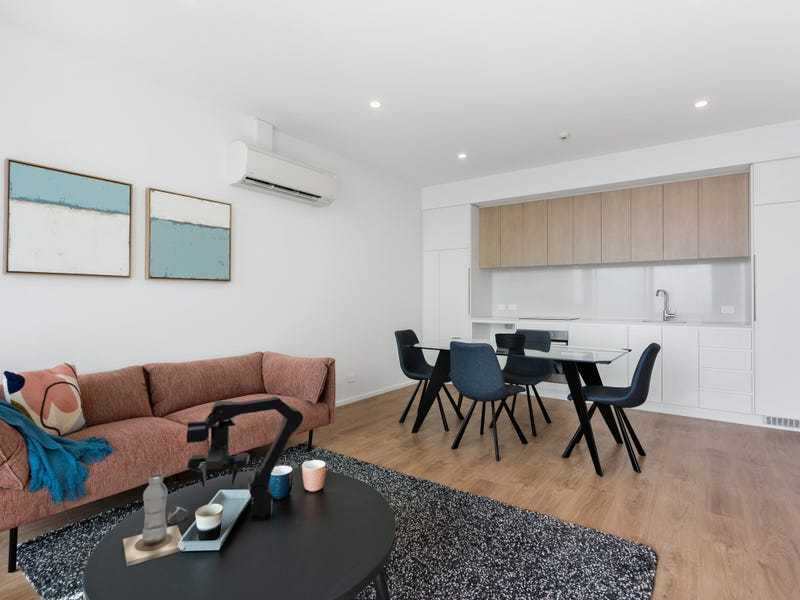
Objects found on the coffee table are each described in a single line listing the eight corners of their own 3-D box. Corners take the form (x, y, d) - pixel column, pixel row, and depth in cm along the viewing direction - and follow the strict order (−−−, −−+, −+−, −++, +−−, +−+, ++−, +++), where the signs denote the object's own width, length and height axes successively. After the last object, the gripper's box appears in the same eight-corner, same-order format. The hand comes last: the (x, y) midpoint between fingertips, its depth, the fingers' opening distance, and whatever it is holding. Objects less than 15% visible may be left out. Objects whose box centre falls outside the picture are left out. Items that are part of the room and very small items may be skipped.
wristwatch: (166, 523, 144) (166, 508, 144) (184, 517, 148) (185, 502, 149) (169, 527, 141) (170, 511, 142) (189, 520, 146) (189, 505, 146)
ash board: (176, 528, 140) (176, 524, 140) (185, 549, 128) (185, 544, 128) (123, 542, 131) (123, 538, 131) (126, 566, 119) (126, 561, 119)
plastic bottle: (170, 540, 131) (172, 475, 131) (146, 549, 125) (148, 481, 126) (161, 533, 135) (163, 470, 135) (138, 542, 129) (140, 476, 130)
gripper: (182, 448, 135) (181, 497, 134) (243, 445, 138) (242, 494, 137) (193, 437, 146) (192, 483, 145) (250, 435, 149) (249, 480, 148)
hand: (218, 485), depth 144 cm, fingers open, 9 cm apart
